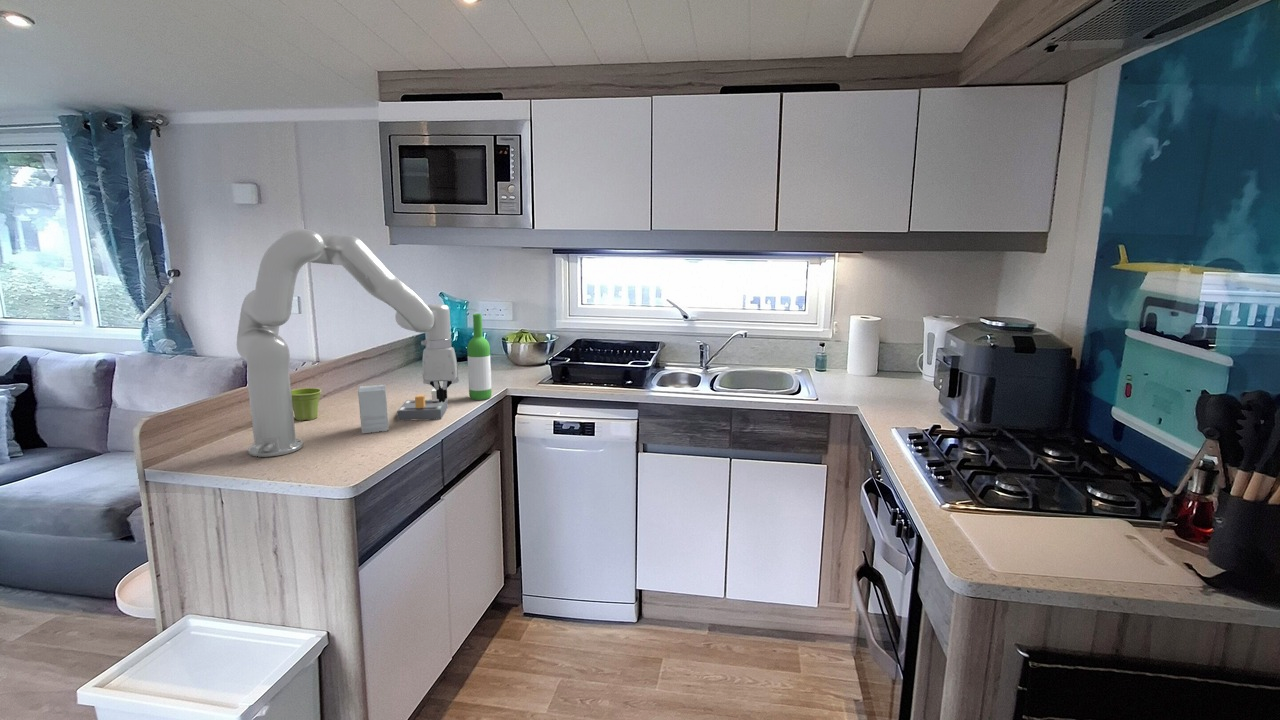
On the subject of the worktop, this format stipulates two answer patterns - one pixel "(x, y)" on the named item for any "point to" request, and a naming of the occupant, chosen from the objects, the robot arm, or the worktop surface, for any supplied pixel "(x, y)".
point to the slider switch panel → (422, 410)
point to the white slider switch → (434, 395)
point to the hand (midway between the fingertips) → (442, 401)
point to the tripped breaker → (420, 401)
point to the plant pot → (305, 403)
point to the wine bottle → (479, 363)
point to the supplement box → (373, 408)
